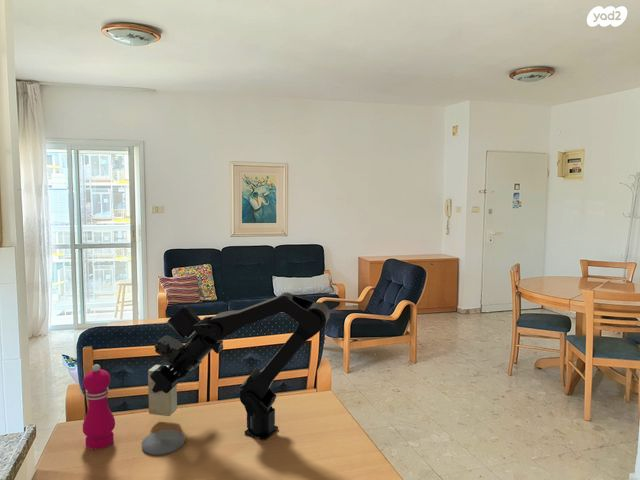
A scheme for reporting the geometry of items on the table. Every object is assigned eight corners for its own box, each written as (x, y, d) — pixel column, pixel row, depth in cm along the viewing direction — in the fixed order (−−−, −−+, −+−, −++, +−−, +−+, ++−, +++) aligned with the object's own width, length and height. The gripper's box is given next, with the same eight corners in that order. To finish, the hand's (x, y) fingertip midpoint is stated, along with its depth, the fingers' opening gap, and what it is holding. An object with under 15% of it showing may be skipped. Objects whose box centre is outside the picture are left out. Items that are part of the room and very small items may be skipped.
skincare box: (148, 414, 126) (146, 370, 124) (156, 406, 130) (155, 364, 129) (170, 416, 125) (169, 372, 123) (178, 408, 129) (176, 365, 128)
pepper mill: (103, 452, 113) (99, 371, 110) (76, 448, 114) (72, 368, 112) (122, 436, 120) (118, 360, 117) (96, 433, 121) (92, 357, 119)
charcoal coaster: (193, 438, 119) (193, 435, 119) (163, 459, 111) (163, 456, 110) (163, 429, 124) (163, 426, 124) (132, 448, 115) (132, 445, 115)
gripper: (190, 317, 133) (155, 353, 136) (155, 339, 115) (116, 379, 118) (217, 346, 133) (181, 381, 136) (187, 373, 114) (147, 412, 118)
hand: (157, 387), depth 127 cm, fingers closed on skincare box, 4 cm apart
